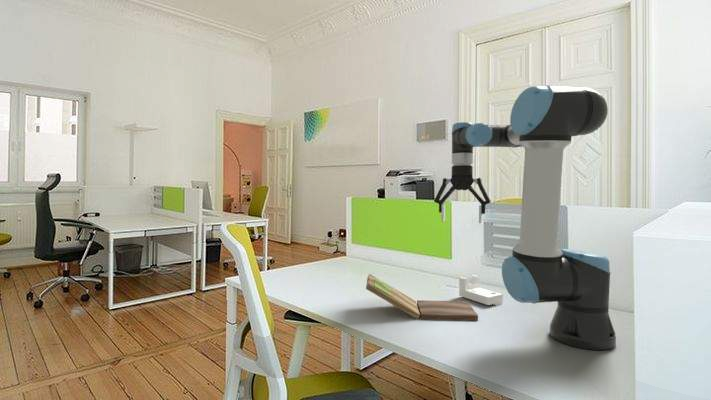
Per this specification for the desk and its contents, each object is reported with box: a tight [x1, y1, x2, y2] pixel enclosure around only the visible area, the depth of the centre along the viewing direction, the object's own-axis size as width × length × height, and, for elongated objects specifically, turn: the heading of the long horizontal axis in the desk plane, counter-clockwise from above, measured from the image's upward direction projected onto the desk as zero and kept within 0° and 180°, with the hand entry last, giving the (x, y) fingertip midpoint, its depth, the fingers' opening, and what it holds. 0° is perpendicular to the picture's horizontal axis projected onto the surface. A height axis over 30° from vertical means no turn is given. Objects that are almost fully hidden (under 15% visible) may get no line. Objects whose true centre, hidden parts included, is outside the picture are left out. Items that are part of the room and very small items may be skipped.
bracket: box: [458, 274, 504, 306], centre depth 136 cm, size 13×7×8 cm, turn 31°
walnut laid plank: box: [416, 299, 479, 321], centre depth 124 cm, size 14×17×2 cm
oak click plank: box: [365, 273, 421, 320], centre depth 125 cm, size 14×18×2 cm
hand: (461, 222), depth 145 cm, fingers open, 13 cm apart
